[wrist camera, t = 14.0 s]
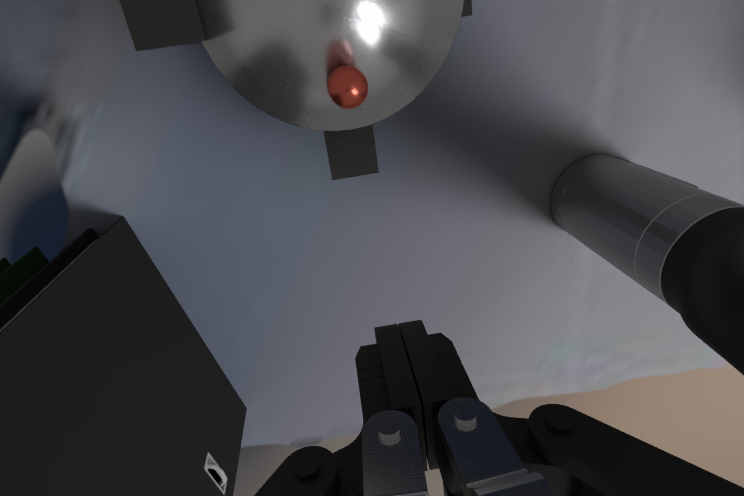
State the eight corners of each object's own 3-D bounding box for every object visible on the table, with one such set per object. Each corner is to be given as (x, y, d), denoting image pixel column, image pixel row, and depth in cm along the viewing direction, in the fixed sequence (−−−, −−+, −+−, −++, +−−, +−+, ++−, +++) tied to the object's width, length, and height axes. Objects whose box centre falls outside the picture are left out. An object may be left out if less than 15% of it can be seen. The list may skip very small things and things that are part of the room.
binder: (-5, 261, 45) (-566, 656, 16) (137, 211, 45) (-168, 519, 16) (138, 445, 56) (-36, 868, 28) (251, 406, 56) (196, 790, 27)
